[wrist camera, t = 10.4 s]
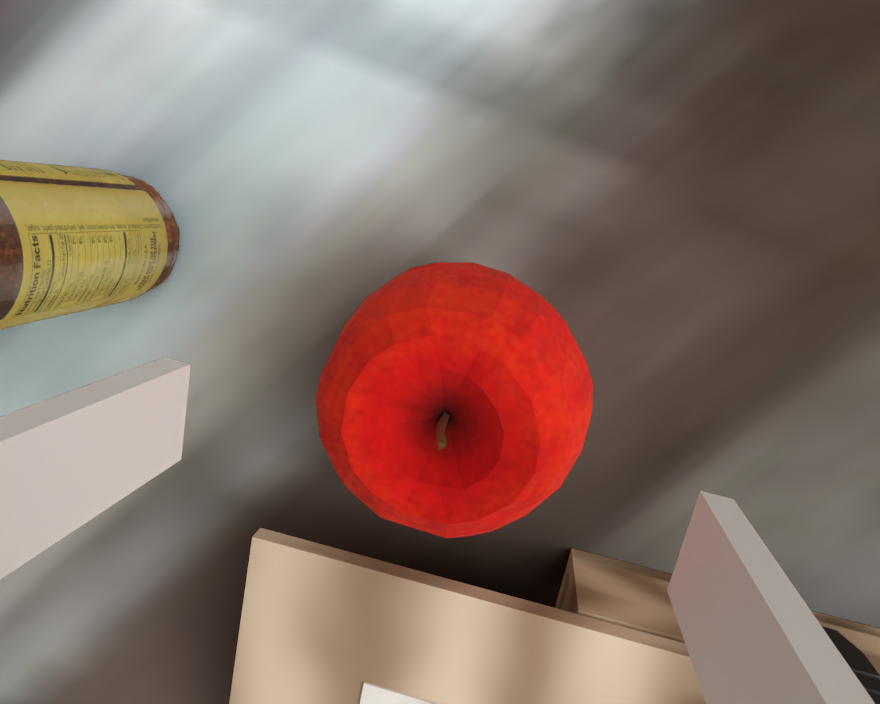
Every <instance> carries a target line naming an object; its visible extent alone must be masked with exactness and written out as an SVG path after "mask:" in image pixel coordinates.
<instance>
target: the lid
mask: <svg viewBox="0 0 880 704" xmlns="http://www.w3.org/2000/svg"><path fill="white" fill-rule="evenodd" d="M229 704H706V703H705V700H704V697H703V694H702V691H701V688H700V685H699V682H698V679H697V676H696V674H695V671H694V668H693V665H692V662H691V659H690V656H689V653H688V650H687V647H686V644H685V643H682V642H678V641H674V640H671V639H667V638H663V637H660V636H656V635H652V634H649V633H645V632H641V631H638V630H634V629H630V628H627V627H623V626H619V625H616V624H612V623H608V622H605V621H601V620H597V619H594V618H590V617H586V616H583V615H579V614H575V613H572V612H568V611H564V610H561V609H557V608H553V607H550V606H546V605H542V604H539V603H535V602H531V601H528V600H524V599H520V598H517V597H513V596H509V595H506V594H502V593H498V592H495V591H491V590H487V589H484V588H480V587H476V586H473V585H469V584H465V583H462V582H458V581H454V580H451V579H447V578H443V577H440V576H436V575H432V574H429V573H425V572H421V571H418V570H414V569H410V568H407V567H403V566H399V565H396V564H392V563H388V562H385V561H381V560H377V559H374V558H370V557H366V556H363V555H359V554H355V553H352V552H348V551H344V550H341V549H337V548H333V547H330V546H326V545H322V544H319V543H315V542H311V541H308V540H304V539H300V538H297V537H293V536H289V535H286V534H282V533H278V532H275V531H271V530H267V529H264V528H260V529H259V530H258V531H257V532H256V533H255V534H254V535H253V537H252V542H251V550H250V557H249V564H248V571H247V579H246V586H245V593H244V600H243V607H242V615H241V622H240V629H239V636H238V643H237V651H236V658H235V665H234V672H233V680H232V687H231V694H230V701H229Z"/></svg>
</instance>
